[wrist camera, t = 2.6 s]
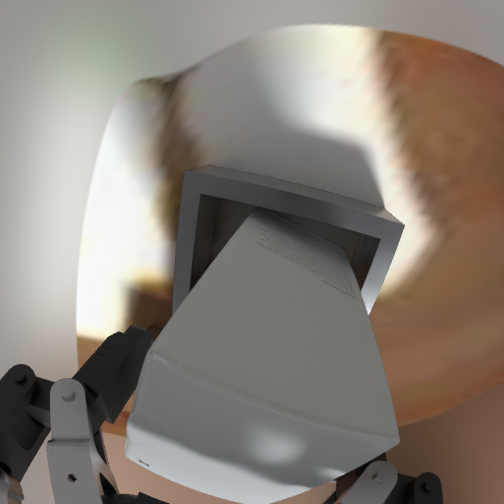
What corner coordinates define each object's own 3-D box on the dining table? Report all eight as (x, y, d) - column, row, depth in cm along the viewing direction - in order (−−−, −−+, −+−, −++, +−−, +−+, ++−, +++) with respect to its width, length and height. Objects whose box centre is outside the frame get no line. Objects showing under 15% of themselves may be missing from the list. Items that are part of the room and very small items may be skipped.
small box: (287, 338, 19) (259, 509, 8) (210, 301, 19) (119, 457, 8) (349, 248, 16) (407, 445, 4) (257, 200, 16) (136, 347, 4)
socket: (385, 209, 15) (404, 225, 12) (323, 362, 20) (323, 395, 17) (208, 165, 16) (185, 170, 13) (188, 327, 21) (171, 355, 18)
